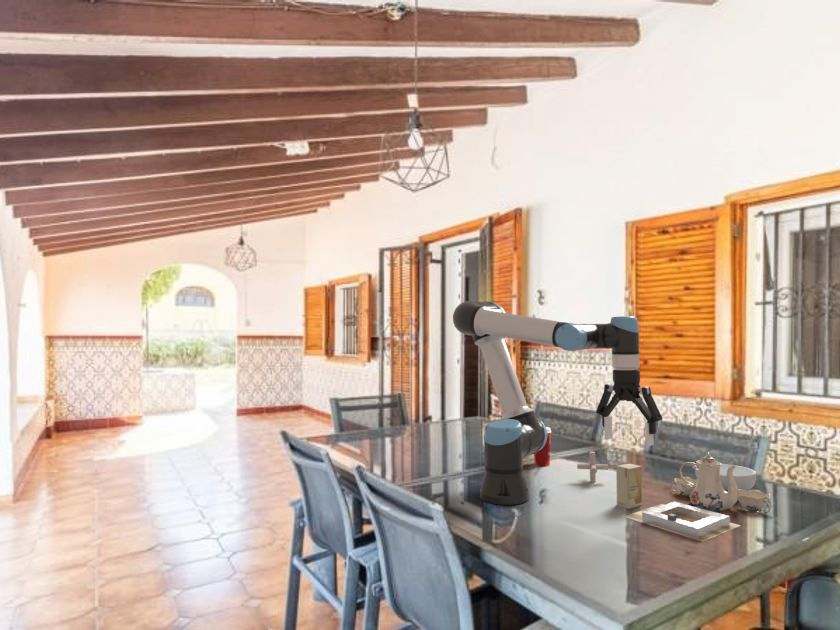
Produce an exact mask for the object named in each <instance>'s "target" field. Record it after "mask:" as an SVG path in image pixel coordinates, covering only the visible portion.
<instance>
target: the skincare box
mask: <svg viewBox="0 0 840 630" xmlns="http://www.w3.org/2000/svg"><path fill="white" fill-rule="evenodd" d="M615 469H616V470H615V471H616V506H619V507H622V508H625V509H628V510H629V509H633V508H637V507H641V506H642V505H643V497H642V495H643V493H642V492H643V491H642V490H643V489H642V465H637V464H633V463H625V464H621V465H616V468H615Z"/></svg>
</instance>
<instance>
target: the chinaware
mask: <svg viewBox="0 0 840 630" xmlns="http://www.w3.org/2000/svg"><path fill="white" fill-rule="evenodd" d="M695 462H696V463H695ZM695 462H694V461H693V462H692V461H686V462H684V463H682V464H681V465H680V467H679V469H678V473H679V477H680V478H677V477H676V478H675V477H674V478H673V479H674V480H673V481H671V482H670V484H669V486H670V489H671V491H673V492H679V495H680V496H682V495H683V496H685V497H687V498H689V501H690V503H691V504H692V506H693V507H697V508H701V509H705V510H708V511H712V512H720V511H721V512H722V511H727V510H728V509H730V508H731V507H733V506H734V505H735V504H737V503H739V504H740V505H741V507H743V508H744V509H745V510H747V511H749V512H748V513H750V514H751V513H752V514H755V513H760V514H761V515H762V514H763V513H766V514H767V513H770V512H771V504H770V503H769V501H768V500H769V499H770V498H771V494H770V493H763V492H762V490H761V491H760V490H758V489H750V490H747V491H746V490H744V489H739V490H738V487H737V484H736V482H735V479H734V476H733V470H734V468H735V467H736V466H731V467H729V468H728V470H727V479H728V485H729V491H728V492H726V491H725V490H724V489H723V487H722V484H721V480H720V466H721V464H723V463H722V462H720V461H717V460H716V459H715V458H714V457H712V455H711V453H710V452H707V453H706V454H705V456H703V457H702V459H699V460H696V461H695ZM686 465H692V469H693V470H695V469H697V468H698V472H699V474H698V479H697V478H695V479H694V478H691V477H689V476H683V473H682V470H683V467H684V466H686ZM696 466H697V467H696ZM673 483H674V484H676V487H677V489H678V490H675V489H674V488H672V484H673ZM767 506H768V511H765V510H763V509H765V508H766V507H767ZM747 511H746V512H747ZM757 511H758V512H757Z"/></svg>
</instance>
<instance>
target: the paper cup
mask: <svg viewBox="0 0 840 630" xmlns="http://www.w3.org/2000/svg"><path fill="white" fill-rule="evenodd" d="M545 427H546V430H547V441H546V443H545V445H544V447H543V448H542V449H541V450H539V451H538V452H537V453H535V454H533V457H534V459H533V460H534V466H537V465H538V466H537V467H549V466H550V462H551V443H552V442H551V437H552V435H551V434H552V430H551V427H548V426H545ZM548 465H549V466H548Z"/></svg>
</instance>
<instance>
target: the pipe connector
mask: <svg viewBox="0 0 840 630" xmlns="http://www.w3.org/2000/svg"><path fill="white" fill-rule="evenodd" d="M576 466H577V467H576V468H577V469H578V470H589V482H590V483H593V484H594V483H596V482H597V481H596V480H597V479H596V476H597V475H596V474H597V472H598V470H600V471H602V470H605V471H608V470H609V464H607V463H606V464H602V463H601V464H600V463H596V452H595V451H589V460H588V462H587V463H576Z"/></svg>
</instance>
